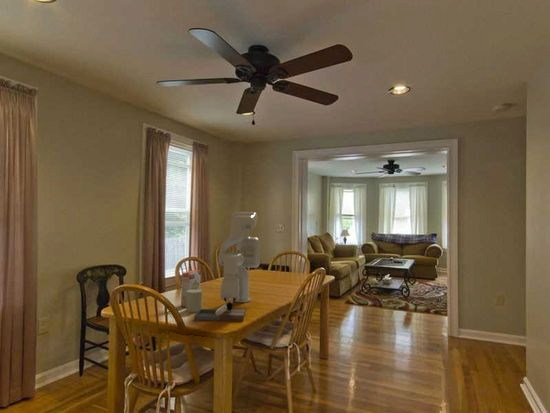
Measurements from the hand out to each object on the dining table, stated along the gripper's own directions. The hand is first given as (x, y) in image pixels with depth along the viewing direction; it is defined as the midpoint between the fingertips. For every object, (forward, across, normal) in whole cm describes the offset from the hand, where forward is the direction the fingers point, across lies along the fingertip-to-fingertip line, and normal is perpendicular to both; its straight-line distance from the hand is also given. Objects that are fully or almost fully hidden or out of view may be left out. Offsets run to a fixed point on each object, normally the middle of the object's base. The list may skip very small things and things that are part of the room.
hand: (229, 310), depth 191 cm
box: (+4, +11, 0) cm, 12 cm away
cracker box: (+4, +28, -27) cm, 39 cm away
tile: (+1, +4, 0) cm, 4 cm away
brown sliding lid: (+4, -2, 0) cm, 5 cm away
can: (+4, +23, -14) cm, 27 cm away
